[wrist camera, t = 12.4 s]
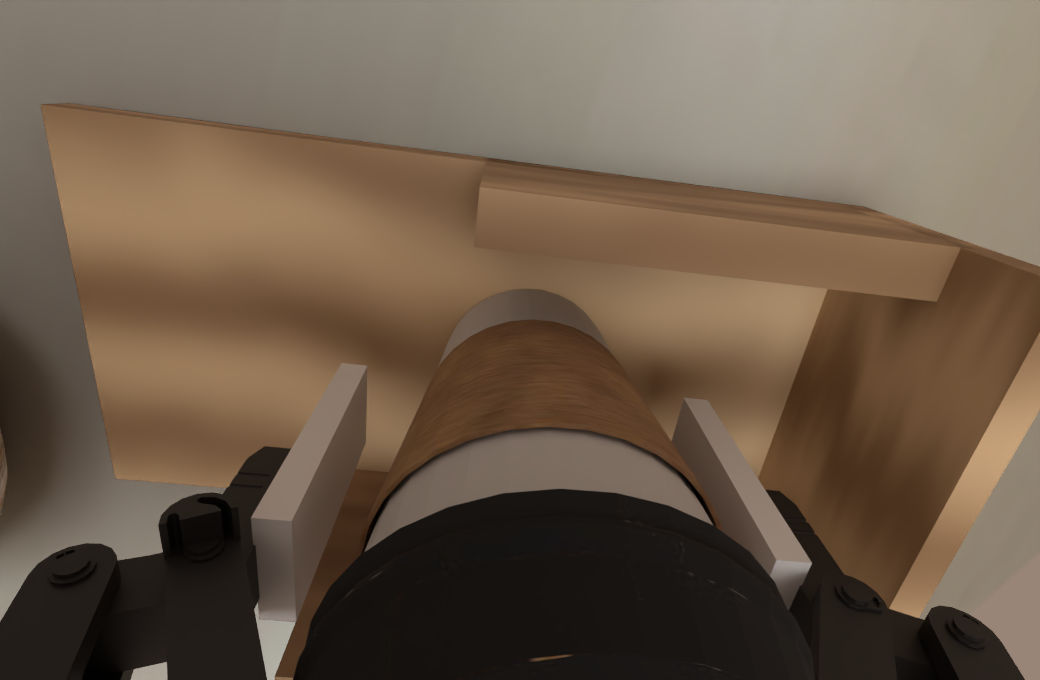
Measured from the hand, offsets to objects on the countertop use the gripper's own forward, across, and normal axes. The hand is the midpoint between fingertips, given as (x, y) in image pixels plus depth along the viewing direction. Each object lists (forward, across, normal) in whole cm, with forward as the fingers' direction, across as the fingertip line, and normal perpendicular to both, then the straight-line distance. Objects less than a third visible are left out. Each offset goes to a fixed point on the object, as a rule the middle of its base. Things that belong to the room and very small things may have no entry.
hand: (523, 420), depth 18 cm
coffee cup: (+4, 0, 0) cm, 4 cm away
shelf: (+5, -2, 0) cm, 5 cm away
